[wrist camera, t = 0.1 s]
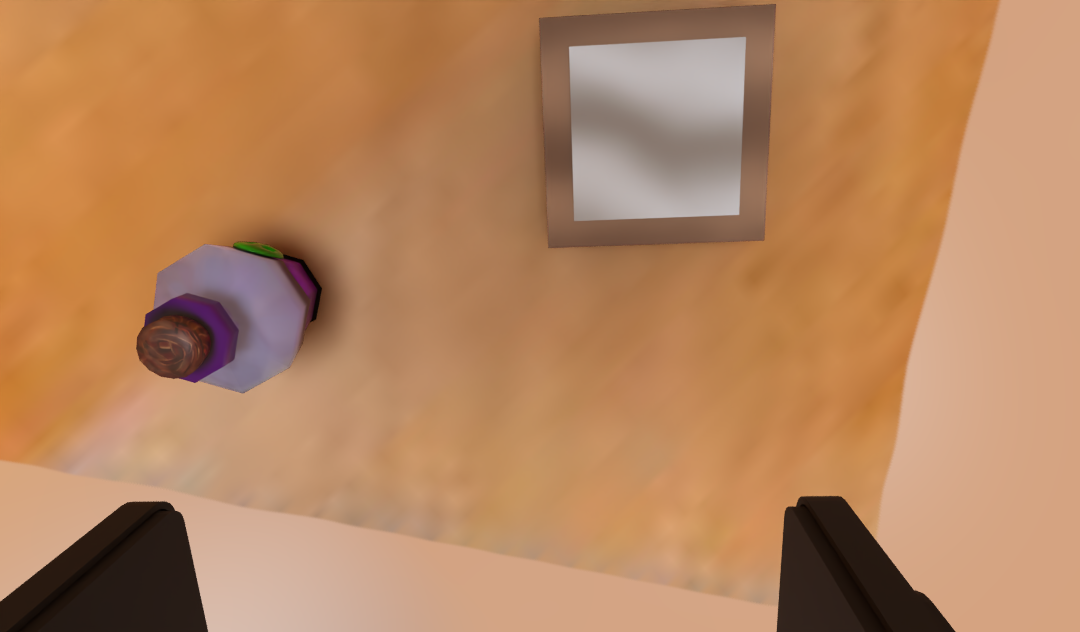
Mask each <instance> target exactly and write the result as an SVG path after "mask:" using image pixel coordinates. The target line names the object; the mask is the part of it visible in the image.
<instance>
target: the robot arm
mask: <svg viewBox="0 0 1080 632" xmlns="http://www.w3.org/2000/svg"><path fill="white" fill-rule="evenodd" d="M0 632H208V629H207V625H206V620H205V615H204V610H203V606H202V601H201V596H200V592H199V587H198V583H197V578H196V573H195V568H194V564H193V559H192V555H191V550H190V545H189V540H188V536H187V531H186V527H185V522H184V519H183V516H182V514H181V513H180V512H178V511H175V510H174V508H173V506H172V505H171V504H170V503H168V502H127V503H126V504H124V505H122V506H121V507H119V508H118V509H117V510H116V511H114V512H113V513H112V514H111V515H109V516H108V517H107V518H105V519H104V520H103V521H102V522H100V523H99V524H98V525H97V526H95V527H94V528H93V529H92V530H90V531H89V532H88V533H87V534H85V535H84V536H83V537H81V538H80V539H79V540H78V541H76V542H75V543H74V544H73V545H71V546H70V547H69V548H68V549H66V550H65V551H64V552H62V553H61V554H60V555H59V556H58V557H56V558H55V559H54V560H52V561H51V562H50V563H49V564H47V565H46V566H45V567H43V568H42V569H41V570H40V571H38V572H37V573H36V574H35V575H33V576H32V577H31V578H30V579H28V580H27V581H26V582H25V583H24V584H22V585H21V586H20V587H18V588H17V589H16V590H15V591H13V592H12V593H11V594H9V595H8V596H7V597H6V598H4V599H3V600H2V601H0ZM777 632H955V631H954V629H953V628H952V627H951V625H950V624H949V623H948V622H947V620H946V619H945V618H944V617H943V615H942V614H941V613H940V611H939V610H938V609H937V608H936V606H935V605H934V604H933V603H932V601H931V600H930V599H929V598H928V597H927V596H925V594H923V593H921V592H918V591H914V590H913V589H912V587H911V586H910V585H909V583H908V582H907V581H906V579H905V578H904V577H903V575H902V574H901V573H900V571H899V570H898V569H897V568H896V566H895V565H894V564H893V562H892V561H891V560H890V558H889V557H888V556H887V554H886V553H885V552H884V551H883V549H882V548H881V547H880V545H879V544H878V543H877V541H876V540H875V539H874V537H873V536H872V535H871V533H870V532H869V531H868V530H867V528H866V527H865V526H864V524H863V523H862V522H861V520H860V519H859V518H858V516H857V515H856V514H855V512H854V511H853V510H852V509H851V507H850V506H849V505H848V503H847V502H846V501H845V500H844V499H843V498H842V497H839V496H804V497H800V498H799V499H798V502H797V506H796V507H787V508H786V511H785V516H784V529H783V545H782V560H781V575H780V590H779V605H778V621H777Z"/></svg>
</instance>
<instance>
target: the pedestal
mask: <svg viewBox="0 0 1080 632" xmlns="http://www.w3.org/2000/svg"><path fill="white" fill-rule="evenodd" d="M775 12H776V4H770V5H753V6H736V7H719V8H701V9H684V10H667V11H650V12H633V13H616V14H599V15H582V16H565V17H548V18H539V25H540V50H541V75H542V100H543V124H544V149H545V174H546V199H547V224H548V248H564V247H592V246H621V245H650V244H678V243H707V242H736V241H764V235H765V215H766V195H767V175H768V154H769V134H770V114H771V93H772V73H773V53H774V32H775Z"/></svg>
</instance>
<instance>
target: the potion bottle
mask: <svg viewBox="0 0 1080 632" xmlns="http://www.w3.org/2000/svg"><path fill="white" fill-rule="evenodd" d="M321 290H322V288H321V287H320V285H319V284H318V282H317V280H316V279H315V277H314V276H313V274H312V273H311V271H310V270H309V268H308V267H307V265H306V264H305V262H304V261H303V260H301V259H298V258H294V257H291V256H287V255H283V254H282V253H281V252H280V251H279V250H277V249H275V248H273V247H271V246H269V245H267V244H261V243H256V242H236V243H234V245H233V247H228V246H218V245H208V244H204V245H203V246H201V247H199V248H198V249H196V250H194V251H193V252H191V253H190V254H188V255H186V256H185V257H183V258H182V259H180V260H178V261H177V262H175V263H173V264H172V265H170V266H169V267H167V268H165V269H164V270H162V271H160V272H159V273H158V275H157V284H156V293H155V301H154V310H152V311H151V312H149V313H147V314H146V316H145V325H144V327H143V328H142V330H141V331H140V333H139V335H138V337H137V347H136V349H137V353H138V356H139V359H140V361H141V362H142V363H143V364H144V365H145V366H146V367H147V368H148V369H149V370H150V371H152V372H154V373H155V374H157V375H159V376H161V377H167V378H173V379H175V378H180V379H183V380H187V381H190V382H194V383H196V382H198V381H201V382H204V383H208V384H211V385H215V386H218V387H222V388H226V389H229V390H233V391H236V392H240V393H245V392H247V391H248V390H250V389H252V388H254V387H256V386H257V385H259V384H261V383H263V382H265V381H266V380H268V379H270V378H272V377H273V376H275V375H277V374H279V373H281V372H282V371H284V370H286V369H288V368H289V367H290V366H291V364H292V362H293V360H294V358H295V357H296V355H297V353H298V351H299V349H300V347H301V346H302V344H303V339H304V333H305V330H306V328H307V326H308V324H309V323H310V322H312V321H314V320H315V319H316V317H317V312H318V306H319V301H320V296H321Z"/></svg>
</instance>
